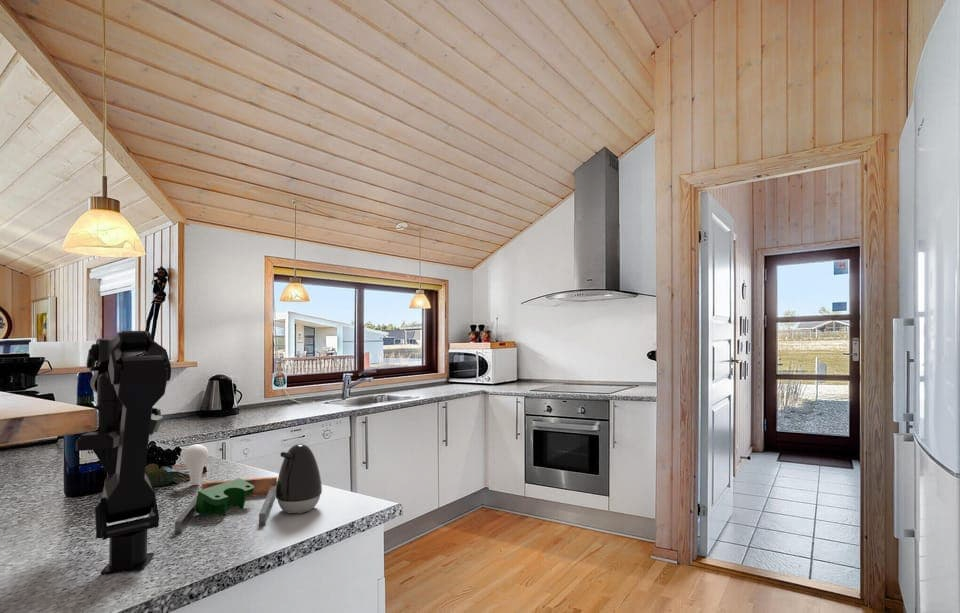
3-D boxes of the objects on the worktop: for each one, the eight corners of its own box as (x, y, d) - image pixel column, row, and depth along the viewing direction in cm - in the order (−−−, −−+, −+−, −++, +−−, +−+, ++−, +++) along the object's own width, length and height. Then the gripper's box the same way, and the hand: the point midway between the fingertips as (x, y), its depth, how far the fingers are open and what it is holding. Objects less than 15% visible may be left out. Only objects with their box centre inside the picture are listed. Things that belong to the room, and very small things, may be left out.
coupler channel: (264, 525, 114) (265, 506, 114) (174, 534, 110) (175, 514, 110) (277, 492, 137) (277, 476, 138) (203, 498, 133) (203, 482, 133)
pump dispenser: (265, 513, 121) (265, 446, 122) (299, 500, 131) (300, 438, 131) (297, 520, 117) (297, 451, 117) (331, 506, 126) (331, 442, 126)
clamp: (216, 536, 120) (208, 505, 116) (199, 525, 122) (191, 495, 119) (259, 501, 129) (253, 472, 126) (242, 492, 132) (236, 464, 128)
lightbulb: (183, 483, 146) (184, 443, 146) (208, 480, 148) (209, 441, 149) (181, 489, 140) (182, 447, 140) (207, 486, 143) (208, 445, 143)
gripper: (142, 403, 102) (141, 486, 101) (171, 392, 120) (170, 462, 119) (75, 406, 99) (73, 491, 98) (115, 394, 117) (114, 466, 116)
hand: (112, 476), depth 108 cm, fingers closed
